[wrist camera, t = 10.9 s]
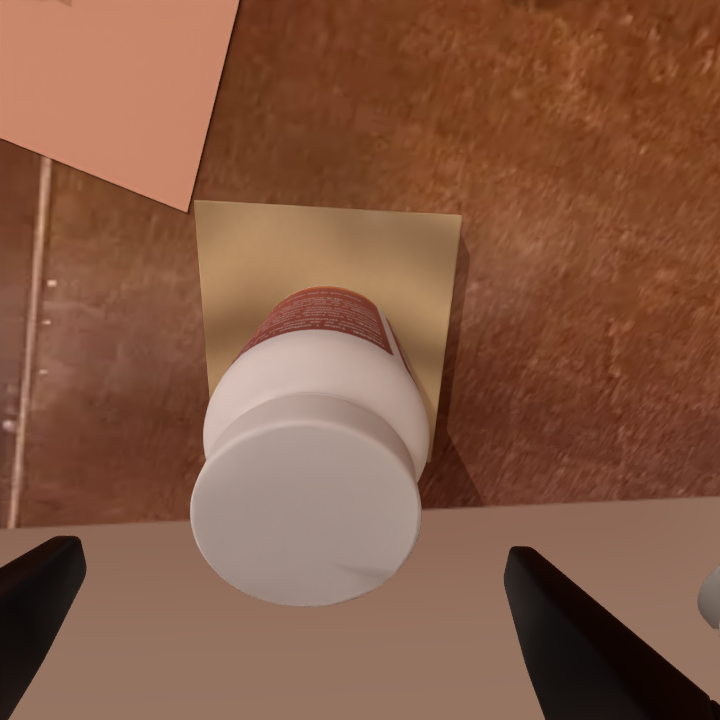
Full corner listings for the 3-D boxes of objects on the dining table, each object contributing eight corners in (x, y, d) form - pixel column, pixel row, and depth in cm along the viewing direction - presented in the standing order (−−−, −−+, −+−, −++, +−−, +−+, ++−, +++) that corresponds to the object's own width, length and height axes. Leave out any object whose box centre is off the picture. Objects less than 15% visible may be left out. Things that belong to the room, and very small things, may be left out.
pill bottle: (232, 348, 18) (79, 525, 8) (328, 252, 17) (297, 308, 7) (329, 434, 20) (309, 674, 9) (423, 352, 19) (521, 526, 8)
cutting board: (425, 447, 22) (431, 463, 21) (222, 441, 22) (213, 456, 20) (454, 215, 18) (463, 215, 17) (205, 201, 18) (193, 199, 16)
